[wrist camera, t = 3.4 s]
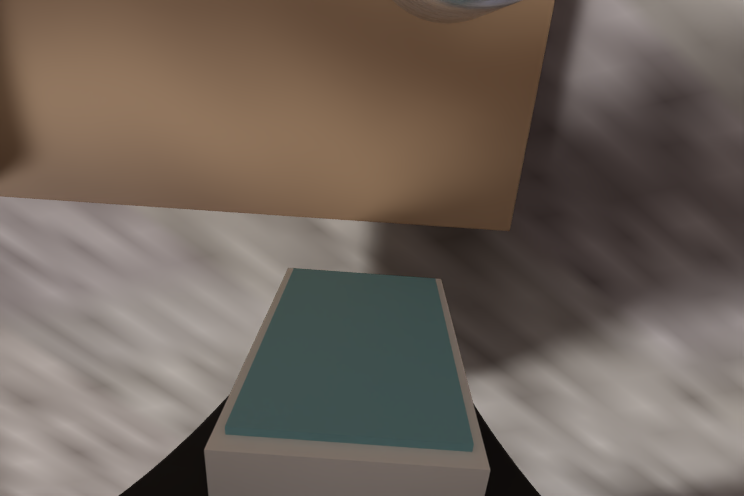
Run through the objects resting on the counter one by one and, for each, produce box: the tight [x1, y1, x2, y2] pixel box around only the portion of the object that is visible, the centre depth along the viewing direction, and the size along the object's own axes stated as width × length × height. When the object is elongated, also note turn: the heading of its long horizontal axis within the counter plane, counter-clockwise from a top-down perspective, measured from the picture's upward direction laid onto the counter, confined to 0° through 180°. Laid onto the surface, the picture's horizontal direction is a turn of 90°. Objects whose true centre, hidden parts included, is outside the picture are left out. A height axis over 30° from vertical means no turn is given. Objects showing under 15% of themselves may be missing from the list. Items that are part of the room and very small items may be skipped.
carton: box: [204, 268, 490, 496], centre depth 10 cm, size 6×4×6 cm, turn 176°
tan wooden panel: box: [0, 0, 555, 231], centre depth 10 cm, size 10×16×4 cm, turn 86°
